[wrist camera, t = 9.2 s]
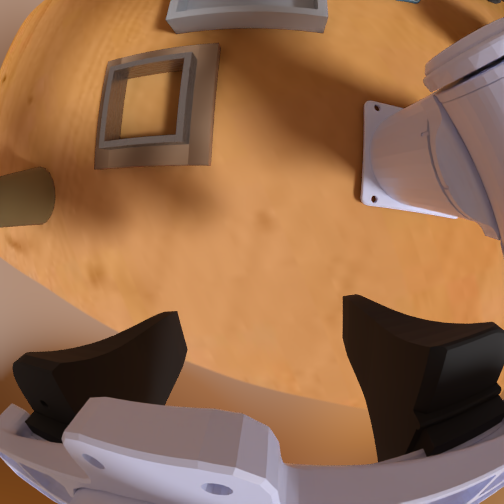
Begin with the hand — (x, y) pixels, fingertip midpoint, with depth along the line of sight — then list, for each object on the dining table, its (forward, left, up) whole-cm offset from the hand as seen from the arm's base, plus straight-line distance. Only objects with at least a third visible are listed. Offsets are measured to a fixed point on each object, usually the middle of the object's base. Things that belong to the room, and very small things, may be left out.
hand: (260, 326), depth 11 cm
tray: (+3, -25, -10) cm, 27 cm away
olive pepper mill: (+24, -5, -10) cm, 26 cm away
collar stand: (+10, -12, -10) cm, 18 cm away
